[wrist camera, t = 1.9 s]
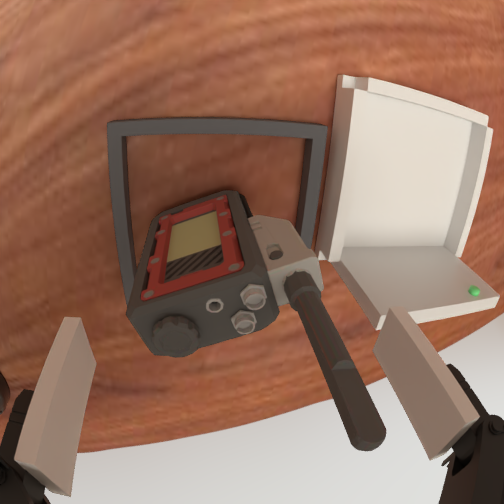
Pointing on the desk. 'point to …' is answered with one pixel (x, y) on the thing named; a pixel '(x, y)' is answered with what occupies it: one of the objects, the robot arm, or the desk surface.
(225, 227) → the walkie-talkie
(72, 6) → the desk surface
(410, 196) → the dock
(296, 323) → the desk surface
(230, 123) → the grey square frame
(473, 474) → the robot arm
